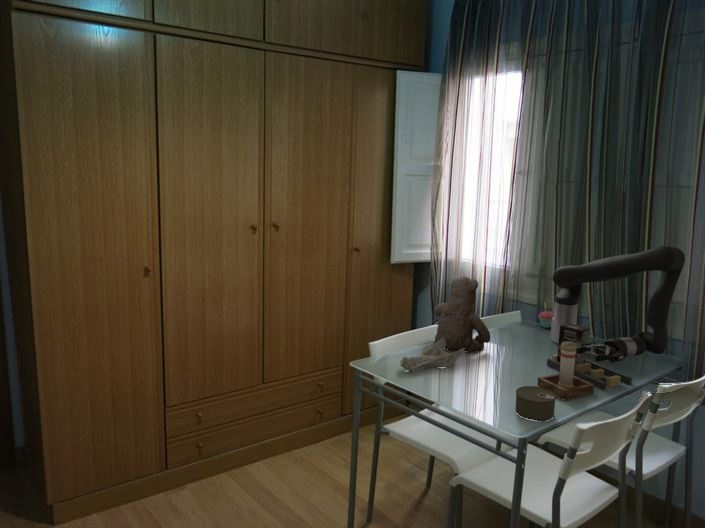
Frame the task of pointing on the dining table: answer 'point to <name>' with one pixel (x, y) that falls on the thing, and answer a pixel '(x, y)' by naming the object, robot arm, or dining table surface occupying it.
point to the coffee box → (573, 340)
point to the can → (535, 403)
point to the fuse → (567, 364)
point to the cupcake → (546, 318)
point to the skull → (431, 357)
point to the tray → (578, 389)
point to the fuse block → (594, 373)
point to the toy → (461, 318)
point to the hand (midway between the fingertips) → (586, 354)
